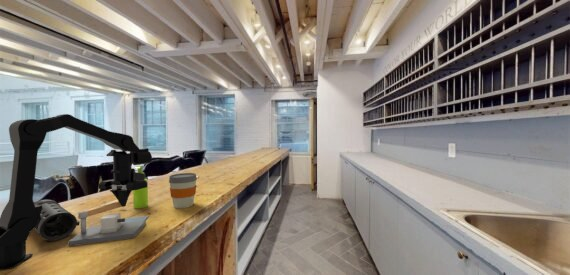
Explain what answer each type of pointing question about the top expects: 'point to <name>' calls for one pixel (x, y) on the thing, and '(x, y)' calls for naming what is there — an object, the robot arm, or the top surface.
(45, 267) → the top surface
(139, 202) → the soap dispenser
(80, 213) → the tan wooden bar
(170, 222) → the top surface
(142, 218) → the mat
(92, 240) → the socket block
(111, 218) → the plug
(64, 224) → the muzzle brake
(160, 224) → the top surface
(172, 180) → the reusable coffee cup
